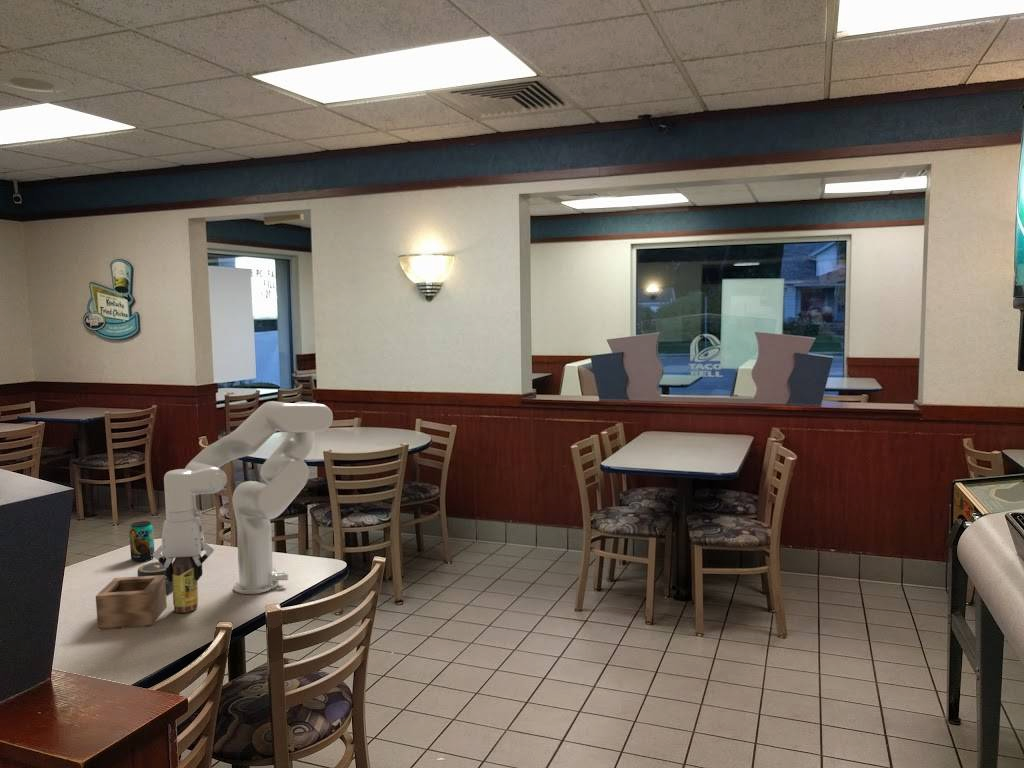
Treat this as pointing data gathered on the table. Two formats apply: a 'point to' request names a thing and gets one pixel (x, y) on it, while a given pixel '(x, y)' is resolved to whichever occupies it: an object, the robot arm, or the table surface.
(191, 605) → the sauce bottle
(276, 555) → the table surface
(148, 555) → the beverage can
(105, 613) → the walnut box
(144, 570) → the jar
